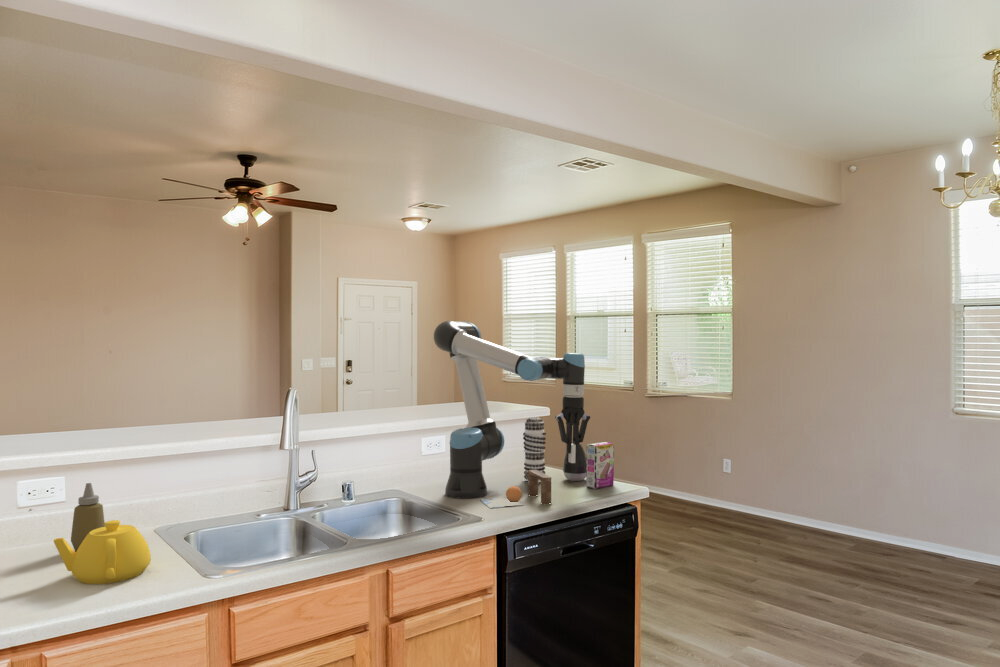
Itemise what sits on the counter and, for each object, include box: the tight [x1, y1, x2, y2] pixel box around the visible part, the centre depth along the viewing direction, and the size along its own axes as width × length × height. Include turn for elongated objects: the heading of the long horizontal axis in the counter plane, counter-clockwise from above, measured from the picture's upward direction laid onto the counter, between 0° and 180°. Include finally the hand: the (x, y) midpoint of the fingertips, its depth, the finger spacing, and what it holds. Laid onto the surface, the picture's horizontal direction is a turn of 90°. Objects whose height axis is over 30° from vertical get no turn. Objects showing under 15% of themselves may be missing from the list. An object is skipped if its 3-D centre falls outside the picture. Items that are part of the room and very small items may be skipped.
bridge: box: [527, 470, 552, 505], centre depth 235 cm, size 3×14×9 cm, turn 18°
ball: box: [505, 485, 523, 502], centre depth 232 cm, size 6×6×6 cm
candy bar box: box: [585, 441, 615, 490], centre depth 257 cm, size 11×5×16 cm, turn 132°
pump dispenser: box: [562, 442, 587, 482], centre depth 269 cm, size 10×10×15 cm
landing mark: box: [480, 498, 501, 507], centre depth 231 cm, size 12×12×1 cm
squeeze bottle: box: [70, 482, 106, 552], centre depth 179 cm, size 8×8×18 cm
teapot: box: [53, 519, 152, 585], centre depth 160 cm, size 20×19×13 cm
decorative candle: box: [522, 416, 547, 482], centre depth 268 cm, size 9×9×25 cm
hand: (571, 462), depth 239 cm, fingers closed
